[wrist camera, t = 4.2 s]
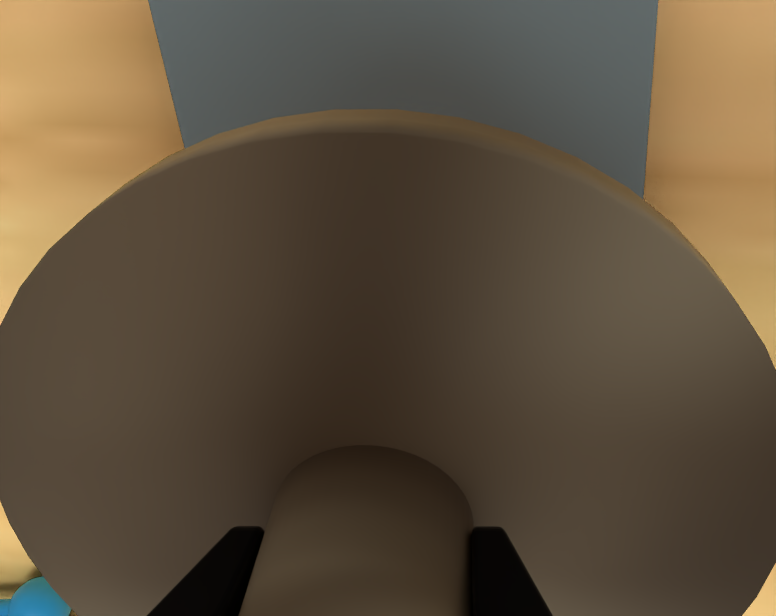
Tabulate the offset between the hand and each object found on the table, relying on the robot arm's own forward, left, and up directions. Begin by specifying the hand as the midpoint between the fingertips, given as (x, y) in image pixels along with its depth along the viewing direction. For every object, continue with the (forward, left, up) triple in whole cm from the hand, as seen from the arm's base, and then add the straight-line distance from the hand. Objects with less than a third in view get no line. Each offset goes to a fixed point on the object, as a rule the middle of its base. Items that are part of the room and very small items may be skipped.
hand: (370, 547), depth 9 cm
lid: (0, 0, -1) cm, 1 cm away
